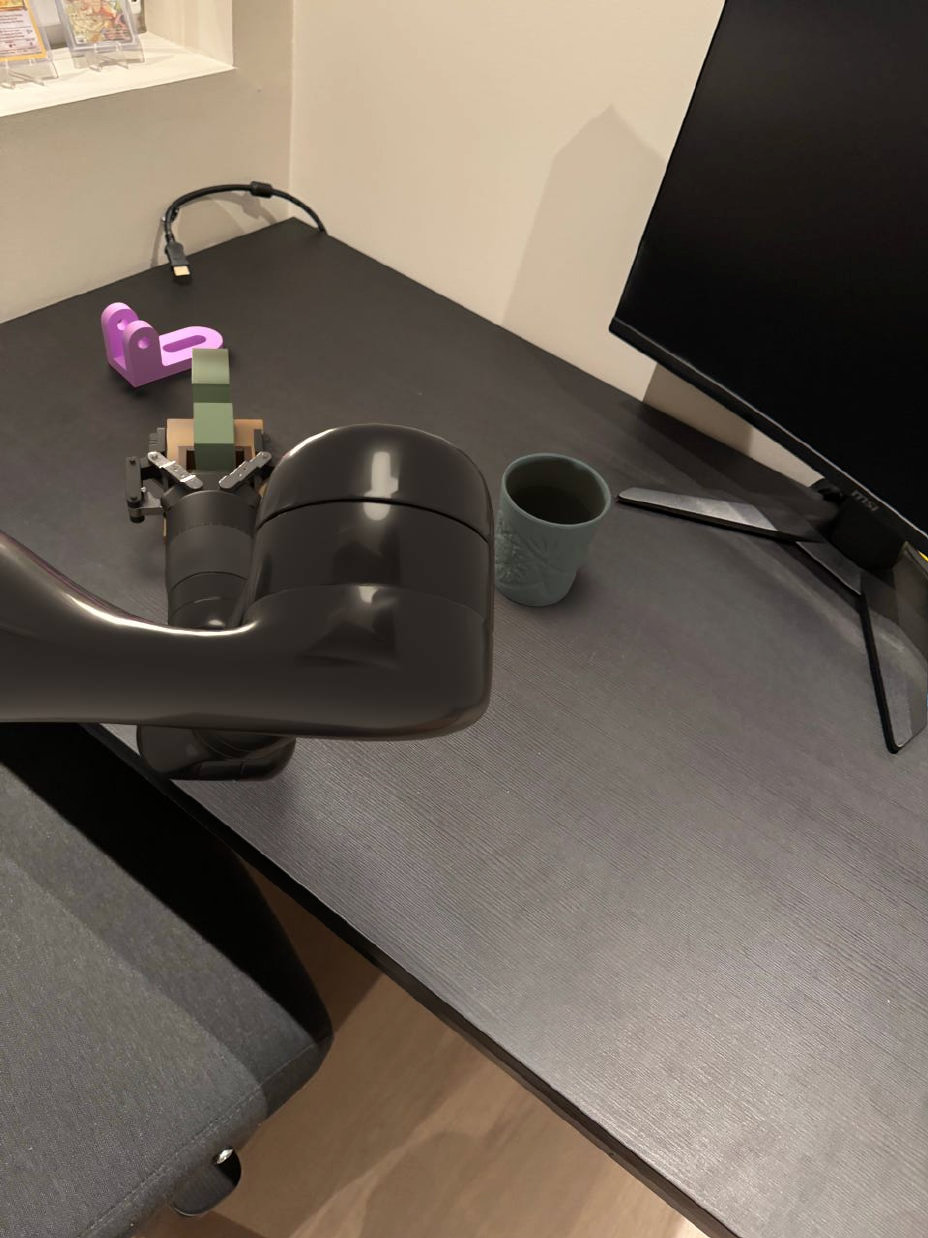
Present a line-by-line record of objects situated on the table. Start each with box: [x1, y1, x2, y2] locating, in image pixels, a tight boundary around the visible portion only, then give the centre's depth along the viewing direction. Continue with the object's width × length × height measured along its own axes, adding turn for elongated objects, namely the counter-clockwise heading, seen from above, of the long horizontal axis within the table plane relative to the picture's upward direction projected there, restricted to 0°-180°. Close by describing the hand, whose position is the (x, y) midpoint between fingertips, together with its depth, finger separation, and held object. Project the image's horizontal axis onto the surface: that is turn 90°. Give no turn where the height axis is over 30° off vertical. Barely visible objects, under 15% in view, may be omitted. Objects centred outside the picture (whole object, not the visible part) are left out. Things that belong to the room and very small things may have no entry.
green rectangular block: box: [193, 402, 236, 473], centre depth 81 cm, size 6×4×9 cm, turn 12°
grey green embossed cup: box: [494, 452, 612, 607], centre depth 81 cm, size 10×10×12 cm
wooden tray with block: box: [163, 348, 267, 548], centre depth 83 cm, size 18×10×10 cm, turn 12°
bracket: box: [100, 302, 224, 388], centre depth 97 cm, size 13×6×7 cm, turn 135°
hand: (210, 435), depth 79 cm, fingers open, 8 cm apart
